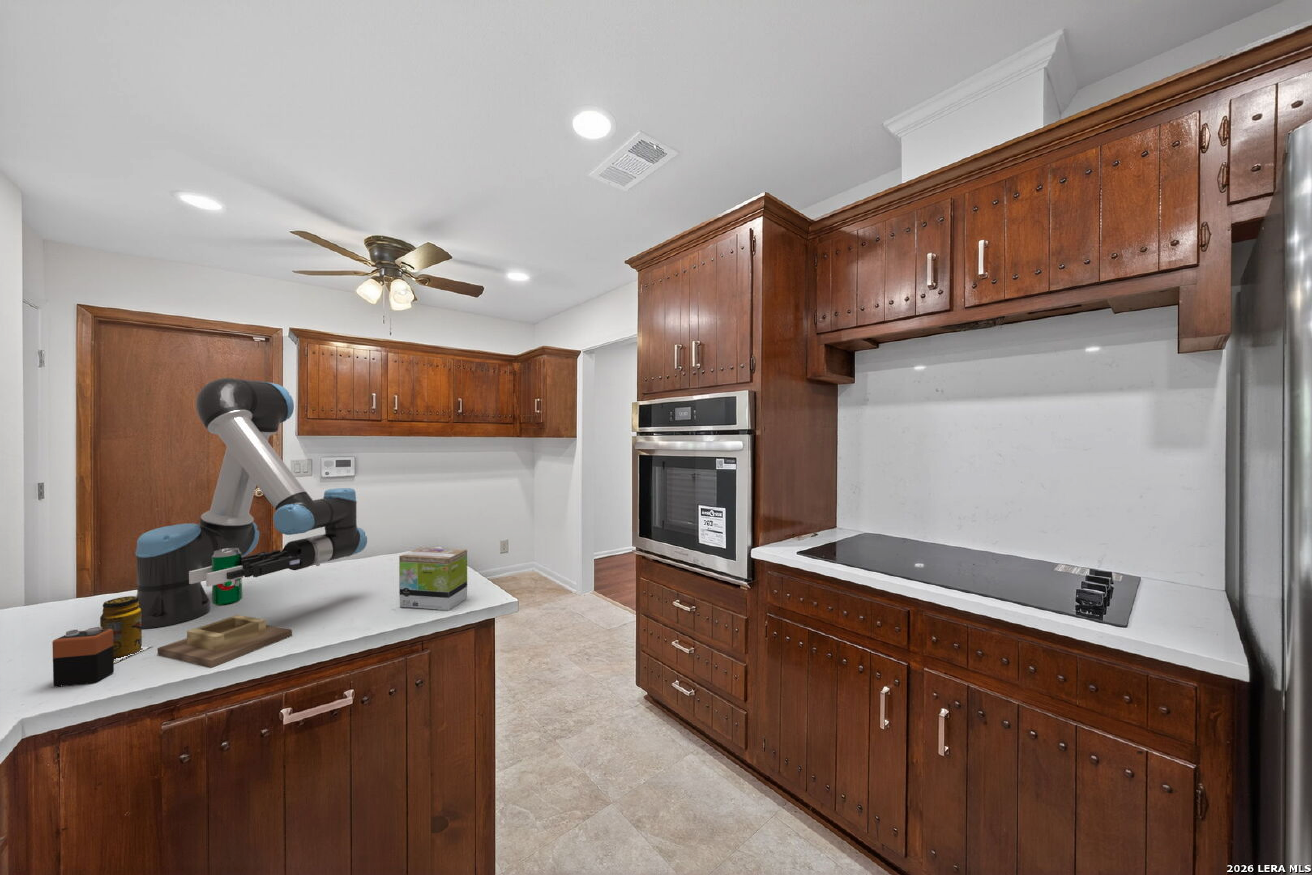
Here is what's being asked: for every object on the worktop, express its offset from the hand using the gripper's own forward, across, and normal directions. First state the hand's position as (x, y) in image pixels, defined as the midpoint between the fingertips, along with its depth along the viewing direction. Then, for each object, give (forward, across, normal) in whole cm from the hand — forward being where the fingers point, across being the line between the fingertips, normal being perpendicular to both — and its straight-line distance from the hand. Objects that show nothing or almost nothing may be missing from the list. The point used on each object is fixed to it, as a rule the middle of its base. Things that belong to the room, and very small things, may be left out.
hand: (198, 578), depth 104 cm
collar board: (-5, 0, -17) cm, 17 cm away
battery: (+14, +9, -17) cm, 24 cm away
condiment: (+6, +17, -17) cm, 25 cm away
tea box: (-41, -25, -17) cm, 51 cm away
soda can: (-5, 0, -7) cm, 9 cm away
